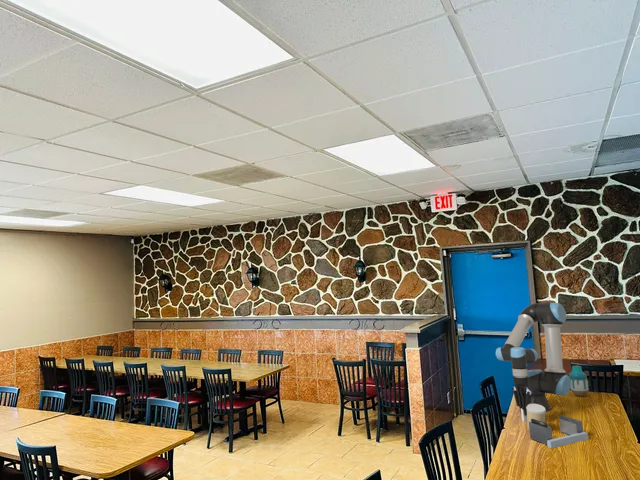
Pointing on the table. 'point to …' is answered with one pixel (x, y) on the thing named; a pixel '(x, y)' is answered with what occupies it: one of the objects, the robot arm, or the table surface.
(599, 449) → the table surface
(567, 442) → the back rail
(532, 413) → the coffee cup
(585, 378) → the vase
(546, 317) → the robot arm
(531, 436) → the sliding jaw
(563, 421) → the block
